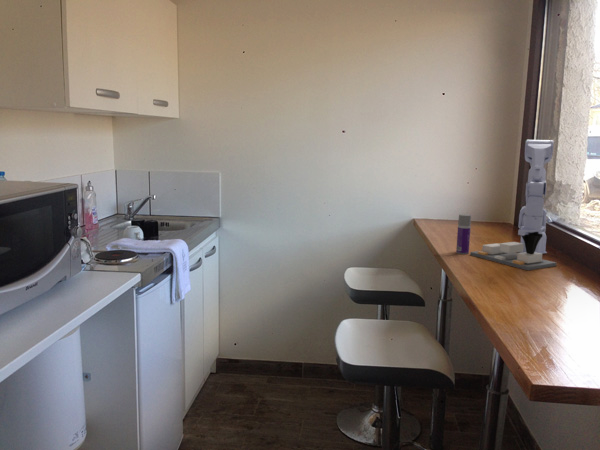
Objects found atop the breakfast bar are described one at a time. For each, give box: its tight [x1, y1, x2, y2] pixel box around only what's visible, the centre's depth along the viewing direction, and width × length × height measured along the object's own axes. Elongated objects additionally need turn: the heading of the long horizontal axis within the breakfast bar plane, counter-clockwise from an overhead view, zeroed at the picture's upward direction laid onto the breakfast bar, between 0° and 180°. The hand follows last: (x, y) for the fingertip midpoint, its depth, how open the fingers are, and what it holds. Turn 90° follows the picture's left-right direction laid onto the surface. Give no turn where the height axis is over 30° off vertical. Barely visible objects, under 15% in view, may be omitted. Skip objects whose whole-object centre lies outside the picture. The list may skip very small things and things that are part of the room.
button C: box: [517, 252, 544, 264], centre depth 188 cm, size 8×4×3 cm, turn 119°
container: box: [455, 213, 472, 255], centre depth 206 cm, size 5×5×15 cm
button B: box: [499, 241, 524, 253], centre depth 195 cm, size 8×4×3 cm, turn 119°
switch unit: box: [469, 250, 558, 271], centre depth 196 cm, size 15×26×2 cm, turn 29°
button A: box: [481, 243, 505, 254], centre depth 202 cm, size 8×4×3 cm, turn 119°
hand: (530, 253), depth 188 cm, fingers closed, pressing on button C
